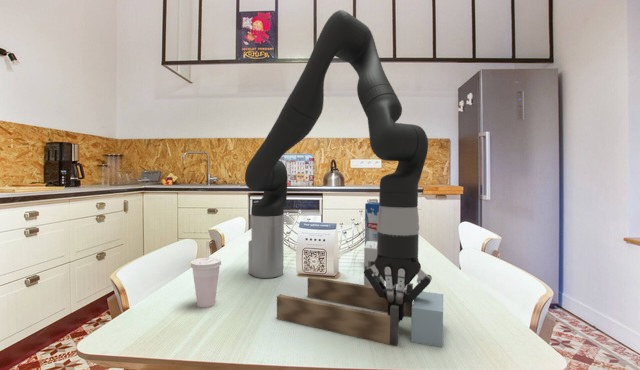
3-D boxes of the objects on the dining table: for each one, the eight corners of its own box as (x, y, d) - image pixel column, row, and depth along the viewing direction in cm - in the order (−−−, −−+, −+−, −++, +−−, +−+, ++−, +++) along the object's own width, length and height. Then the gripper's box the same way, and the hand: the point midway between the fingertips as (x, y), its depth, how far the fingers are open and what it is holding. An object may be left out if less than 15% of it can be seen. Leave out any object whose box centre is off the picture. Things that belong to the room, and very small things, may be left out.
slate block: (411, 341, 57) (411, 307, 57) (416, 320, 66) (416, 290, 66) (442, 347, 56) (442, 311, 55) (442, 324, 64) (443, 294, 64)
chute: (276, 318, 66) (276, 286, 66) (309, 295, 79) (310, 268, 79) (396, 346, 56) (397, 308, 56) (412, 314, 69) (412, 283, 69)
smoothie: (227, 300, 75) (227, 239, 75) (208, 311, 69) (208, 245, 69) (203, 297, 77) (203, 237, 77) (184, 307, 71) (183, 243, 71)
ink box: (365, 285, 87) (366, 229, 87) (384, 286, 86) (385, 229, 86) (363, 296, 79) (363, 234, 78) (384, 298, 78) (385, 235, 77)
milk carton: (401, 266, 105) (402, 203, 104) (394, 271, 100) (395, 205, 99) (372, 262, 110) (372, 202, 110) (364, 266, 105) (365, 203, 104)
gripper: (357, 230, 62) (356, 321, 62) (431, 236, 56) (429, 337, 57) (369, 224, 69) (368, 307, 69) (437, 230, 63) (435, 320, 63)
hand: (396, 321), depth 63 cm, fingers closed
